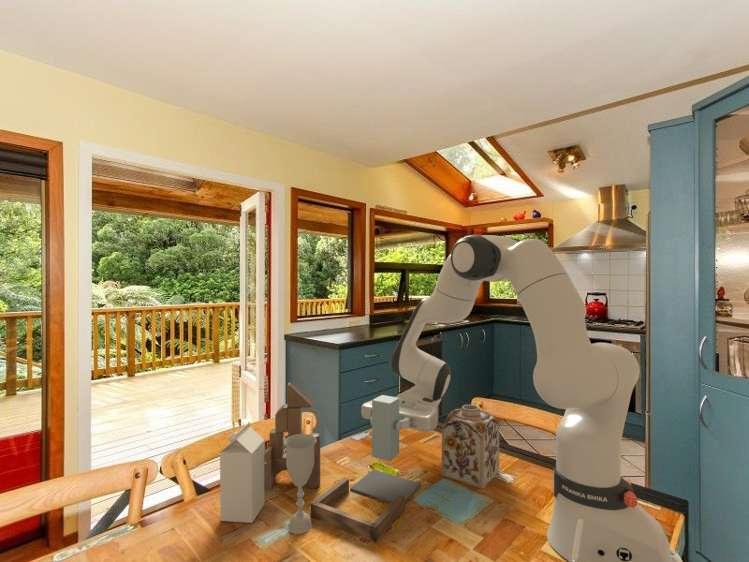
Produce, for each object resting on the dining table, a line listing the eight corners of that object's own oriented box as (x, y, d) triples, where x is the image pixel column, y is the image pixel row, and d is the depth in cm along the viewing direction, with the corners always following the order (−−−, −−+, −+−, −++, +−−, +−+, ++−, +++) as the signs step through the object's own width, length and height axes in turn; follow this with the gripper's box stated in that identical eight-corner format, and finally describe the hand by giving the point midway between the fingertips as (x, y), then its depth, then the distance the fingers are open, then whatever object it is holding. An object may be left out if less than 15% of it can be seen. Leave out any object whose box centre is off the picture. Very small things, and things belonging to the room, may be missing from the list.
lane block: (399, 453, 100) (399, 397, 100) (389, 461, 96) (389, 403, 95) (382, 449, 102) (382, 394, 102) (371, 456, 98) (372, 400, 98)
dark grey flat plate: (421, 485, 100) (421, 483, 100) (401, 506, 91) (401, 504, 91) (373, 471, 107) (373, 469, 107) (350, 490, 98) (350, 488, 98)
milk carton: (264, 504, 92) (264, 422, 91) (252, 524, 84) (251, 434, 84) (234, 503, 92) (234, 421, 92) (220, 521, 85) (219, 433, 85)
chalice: (281, 519, 86) (281, 436, 86) (312, 512, 88) (312, 432, 88) (286, 540, 79) (286, 450, 79) (320, 532, 82) (320, 445, 81)
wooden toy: (256, 491, 97) (255, 389, 97) (261, 477, 104) (261, 382, 104) (319, 488, 98) (319, 388, 98) (321, 475, 105) (321, 380, 105)
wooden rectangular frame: (404, 509, 90) (404, 496, 90) (375, 542, 78) (375, 527, 78) (344, 489, 98) (344, 477, 98) (310, 517, 87) (310, 503, 87)
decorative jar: (483, 491, 98) (483, 417, 97) (440, 476, 105) (440, 408, 104) (500, 471, 107) (500, 405, 107) (460, 459, 114) (460, 397, 114)
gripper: (376, 390, 115) (349, 404, 103) (443, 402, 105) (421, 419, 93) (376, 412, 115) (349, 428, 104) (443, 426, 105) (421, 446, 93)
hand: (384, 424), depth 98 cm, fingers closed on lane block, 5 cm apart
